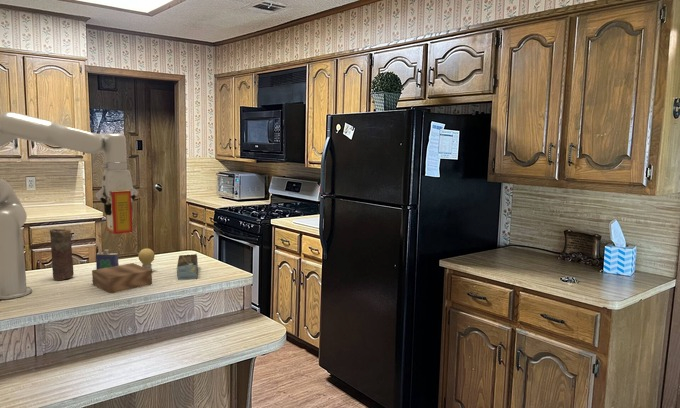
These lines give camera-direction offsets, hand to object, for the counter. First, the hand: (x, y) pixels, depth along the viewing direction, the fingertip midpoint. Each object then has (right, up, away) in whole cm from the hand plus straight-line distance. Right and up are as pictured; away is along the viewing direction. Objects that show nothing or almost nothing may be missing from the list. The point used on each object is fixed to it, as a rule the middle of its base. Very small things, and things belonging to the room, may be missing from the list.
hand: (118, 213), depth 189 cm
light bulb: (+2, -25, +22) cm, 34 cm away
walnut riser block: (0, -28, +4) cm, 28 cm away
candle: (-27, -27, +12) cm, 40 cm away
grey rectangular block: (+20, -26, +20) cm, 39 cm away
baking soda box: (0, -7, +1) cm, 7 cm away
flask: (-12, -26, +17) cm, 33 cm away
